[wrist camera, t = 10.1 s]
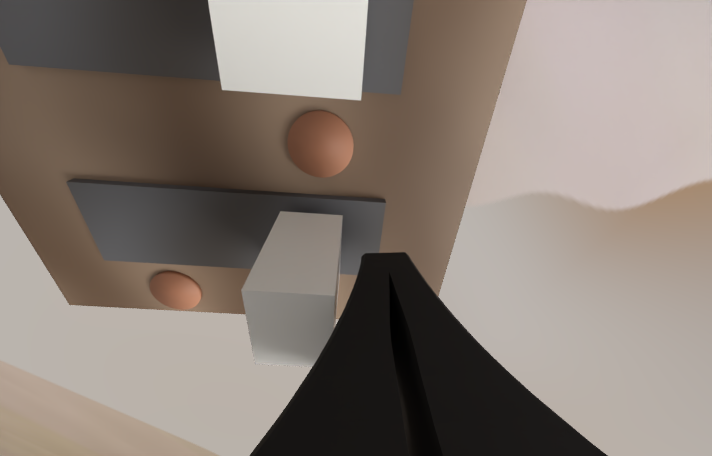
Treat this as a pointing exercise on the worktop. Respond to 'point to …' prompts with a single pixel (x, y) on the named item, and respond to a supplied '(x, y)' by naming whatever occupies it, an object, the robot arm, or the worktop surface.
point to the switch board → (234, 145)
